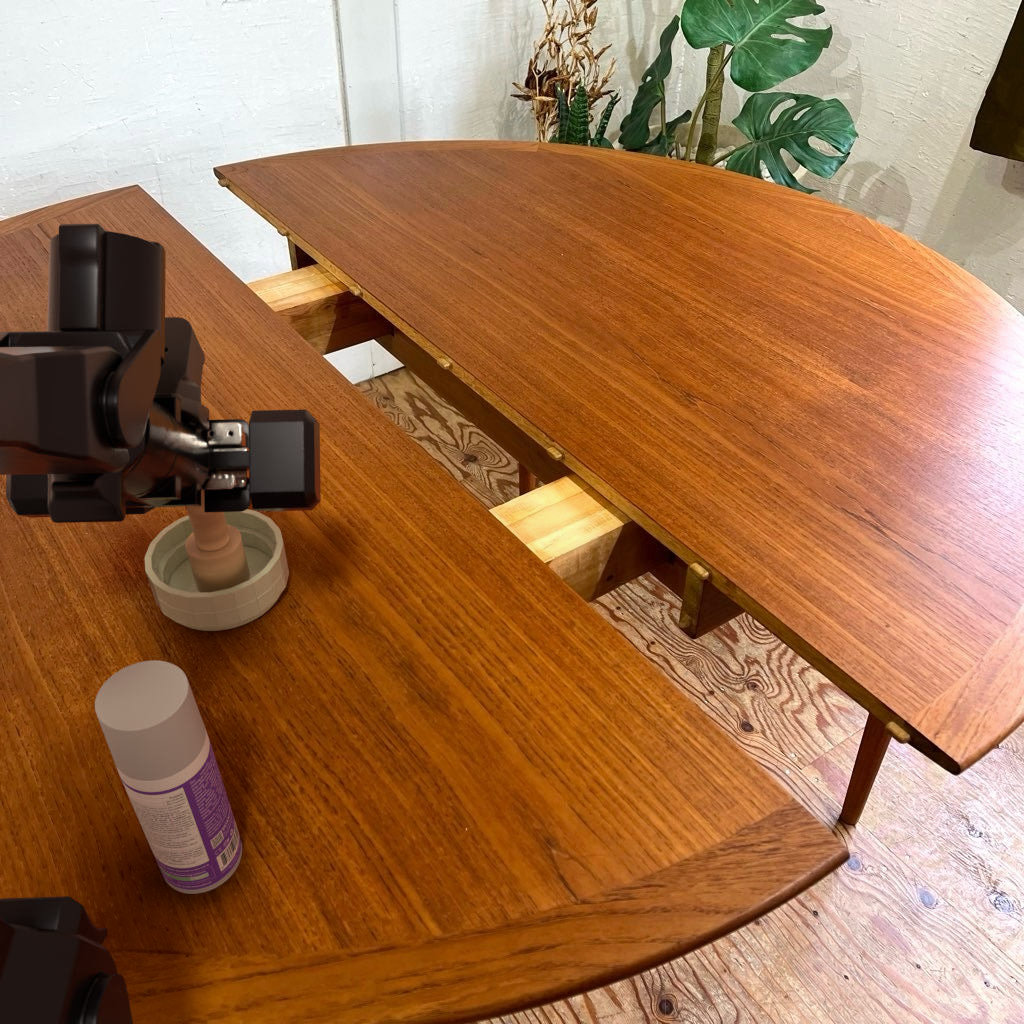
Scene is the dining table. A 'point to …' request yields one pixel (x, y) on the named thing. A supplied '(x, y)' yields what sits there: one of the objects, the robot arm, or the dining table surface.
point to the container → (170, 774)
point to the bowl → (224, 606)
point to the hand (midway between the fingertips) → (204, 480)
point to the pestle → (215, 551)
